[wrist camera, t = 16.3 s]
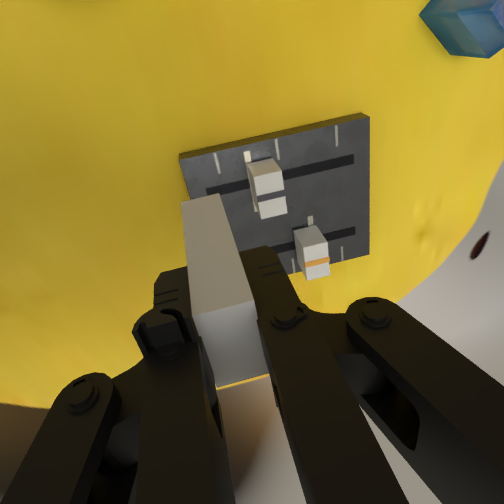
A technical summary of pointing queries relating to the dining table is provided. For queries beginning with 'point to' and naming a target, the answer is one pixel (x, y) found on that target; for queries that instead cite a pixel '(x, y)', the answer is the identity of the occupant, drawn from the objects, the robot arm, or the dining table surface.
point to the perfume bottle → (467, 26)
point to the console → (294, 186)
